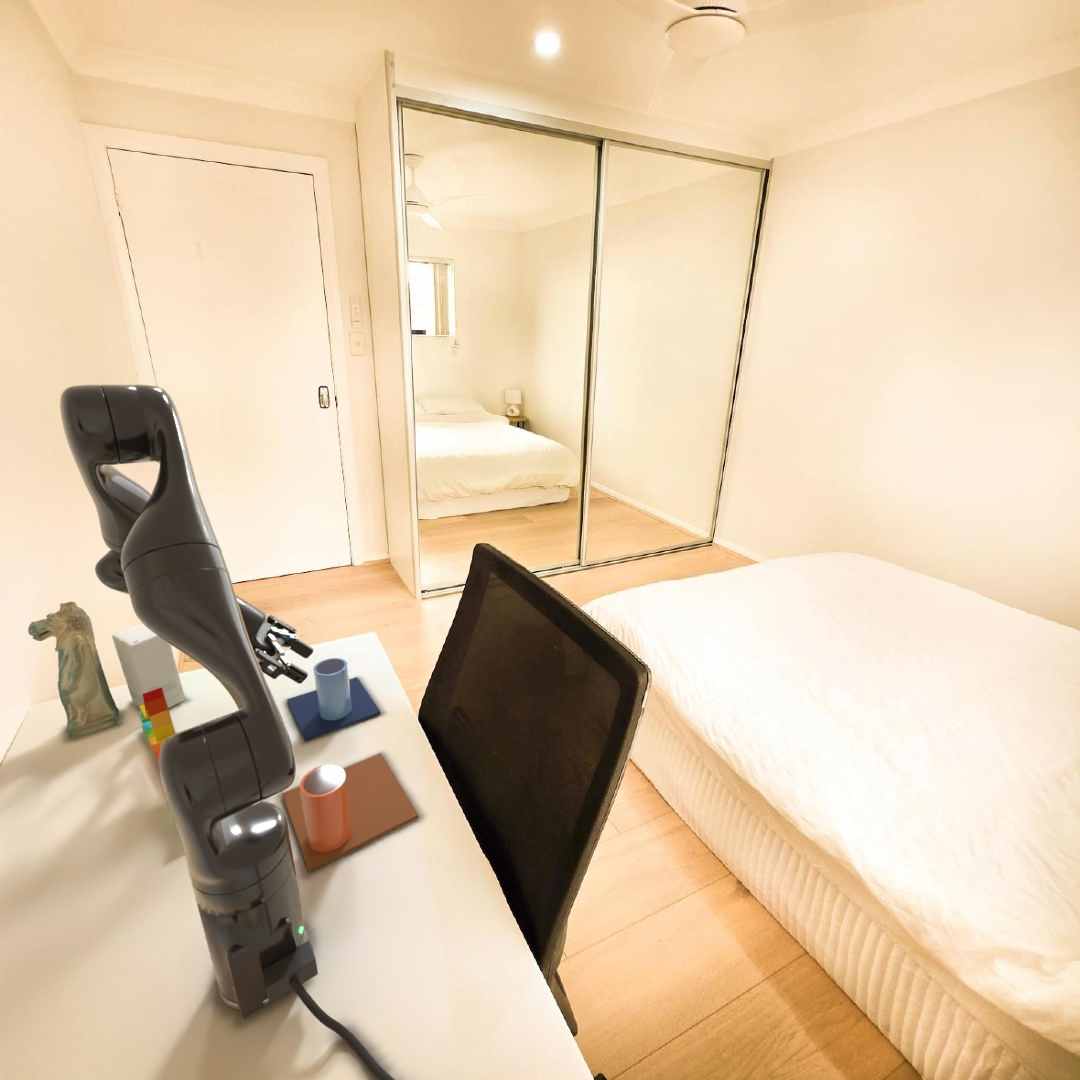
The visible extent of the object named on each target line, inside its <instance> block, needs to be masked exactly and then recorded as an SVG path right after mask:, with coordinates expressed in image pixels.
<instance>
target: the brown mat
mask: <svg viewBox="0 0 1080 1080" xmlns="http://www.w3.org/2000/svg"><path fill="white" fill-rule="evenodd" d="M342 769H343V770H344V771H345V773H346V781H347V790H348V799H349V807H350V816H351V824H352V833H351V835H350V837H349V839H348V840H347V841H346V843H345V844H343V845H342V846H341V847H339V848H338V849H336V850H333V851H330V852H316V851H314V850H312V849H311V848H310V846H309V844H308V839H307V833H306V826H305V820H304V813H303V807H302V800H301V794H300V785H298V786H297V787H294V788H292V789H290V790H288V791H285V792H283V793H282V798H283V801H284V803H285V807H286V809H287V812H288V815H289V818H290V821H291V824H292V826H293V830H294V833H295V836H296V838H297V839H296V840H297V842H298V844H299V848H300V850H301V853H302V858H303V860H304V862H305V866H306V868H307V871H308V873H311V872H313V871H315V870H317V869H319V868H321V867H324V866H325V865H327V864H329V863H331V862H333V861H335V860H337V859H340V858H341V857H343V856H345V855H347V854H349V853H351V852H353V851H355V850H357V849H359V848H361V847H363V846H364V845H367V844H369V843H371V842H372V841H375V840H377V839H379V838H381V837H383V836H385V835H388V834H389V833H391V832H393V831H395V830H397V829H399V828H401V827H403V826H405V825H407V824H409V823H410V822H413V821H414V820H417V819H419V817H420V815H419V813H418V811H417V809H416V808H415V806H414V805H413V803H412V800H410V798H409V796H408V795H407V793H406V792H405V790H404V788H403V787H402V785H401V784H400V782H399V780H398V779H397V777H396V776H395V774H394V772H393V770H392V769H391V767H390V765H389V764H388V762H387V761H386V759H385V757H384V756H383V754H382V753H381V752H380V753H377V754H375V755H372V756H370V757H368V758H365V759H363V760H360V761H358V762H356V763H353V764H351V765H348V766H346V767H342Z"/></svg>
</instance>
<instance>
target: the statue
mask: <svg viewBox="0 0 1080 1080" xmlns="http://www.w3.org/2000/svg"><path fill="white" fill-rule="evenodd" d="M59 606H60V607H59V609H58V610H57V611H55V612H51V613H48V614H47V615H46V618H42V619H39V620H36V621H31V622H30V624H29V625H28V629H27V631H28V635H30V636H32V639H33V640H35V641H36V642H37V641H38V642H43V641H45V640H47V639H49V638H51V637H54V638H56V642H55V648H54V651H55V652H57V661H58V662H57V666H58V681H57V689H58V695H59V699H60V702H61V704H62V706H63V709H64V712H65V715H66V720H67V722H66V730H67V731H66V733H67V736H68V739H70V740H71V739H72V740H73V739H78V738H81V737H84V736H87V735H90V734H94V733H97V732H99V731H103V730H106V729H109V728H112V727H115V726H117V725H118V723H119V719H120V718H119V717H120V709H119V708H118V707H117V705H116V702H115V699H114V698H113V695H112V693H111V690H110V686H109V684H108V680H107V677H106V675H105V671H104V669H103V666H102V662H101V659H100V656H99V652H98V649H97V645H96V643H95V641H96V638H95V634H94V633H95V632H94V629H93V625H92V620H91V617H90V616H89V615H88V614H87V611H85V610H84V609H83V608H81V607H80V606H78V604H77V603H76V601H68V602H64V603H63V602H61V603H60V604H59Z"/></svg>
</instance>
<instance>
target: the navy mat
mask: <svg viewBox="0 0 1080 1080" xmlns="http://www.w3.org/2000/svg"><path fill="white" fill-rule="evenodd" d="M349 683H350V693H351V702H352V710H351V712H350V713H349V714H348V715H347V716H345V717H343V718H341V719H338V720H325V719H322V718H321V717H320V715H319V708H318V700H317V693H316V689H315V690H313V691H309V692H306V693H302V694H300V695H296V696H294V697H290V698H287V699H286V701H287V703H288V706H289V708H290V710H291V713H292V715H293V717H294V720H295V721H296V724H297V726H298V729H299V732H300V733H301V735H302V737H303V740H304V742H308V741H311V740H313V739H316V738H319V737H322V736H325V735H327V734H330V733H333V732H335V731H338V730H341V729H343V728H346V727H349V726H351V725H354V724H357V723H360V722H363V721H365V720H369V719H371V718H373V717H377V716H379V715H381V714H382V713H381V710H380V709H379V707H378V705H377V703H375V701H374V699H373V698H372V696H371V695H370V694H369V692H368V691H367V689H366V688H365V686H364V684H363V683H362V682H361V680H360V679H359V677H358V676H355V677H353V678H349Z"/></svg>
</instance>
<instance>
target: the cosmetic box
mask: <svg viewBox="0 0 1080 1080" xmlns="http://www.w3.org/2000/svg"><path fill="white" fill-rule="evenodd" d="M111 638H112V641H113V643H114V647H115V651H116V654H117V657H118V660H119V663H120V667H121V670H122V673H123V676H124V679H125V682H126V685H127V688H128V691H129V694H130V698H131V702H132V703H133V704H134V705H135V706H136V707H138V708H140V706H141V705H144V699H143V694H144V693H147V692H150V691H153V690H155V689H158V688H161V687H162V690H163V693H164V696H165V700H166V703H167V706H168V709H170V708H172V707H174V706H176V705H178V704H180V703H183V702H184V701H185V700H186V697H185V693H184V689H183V688H184V687H183V686H182V681H181V678H180V674H179V671H178V667H177V663H176V658H175V655H174V652H173V648H172V645H171V644H169V643H168V642H166V641H165V640H163V639H162V638H160V637H159V636H158V635H156V634H155V633H153V632H152V631H151V630H150V629H148V628H147V627H146V626H145V625H144V624H143V623H140V624H136V625H135V626H131V627H130V628H127V629H124V630H121V631H119V632H116V633H113V634H111Z"/></svg>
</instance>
